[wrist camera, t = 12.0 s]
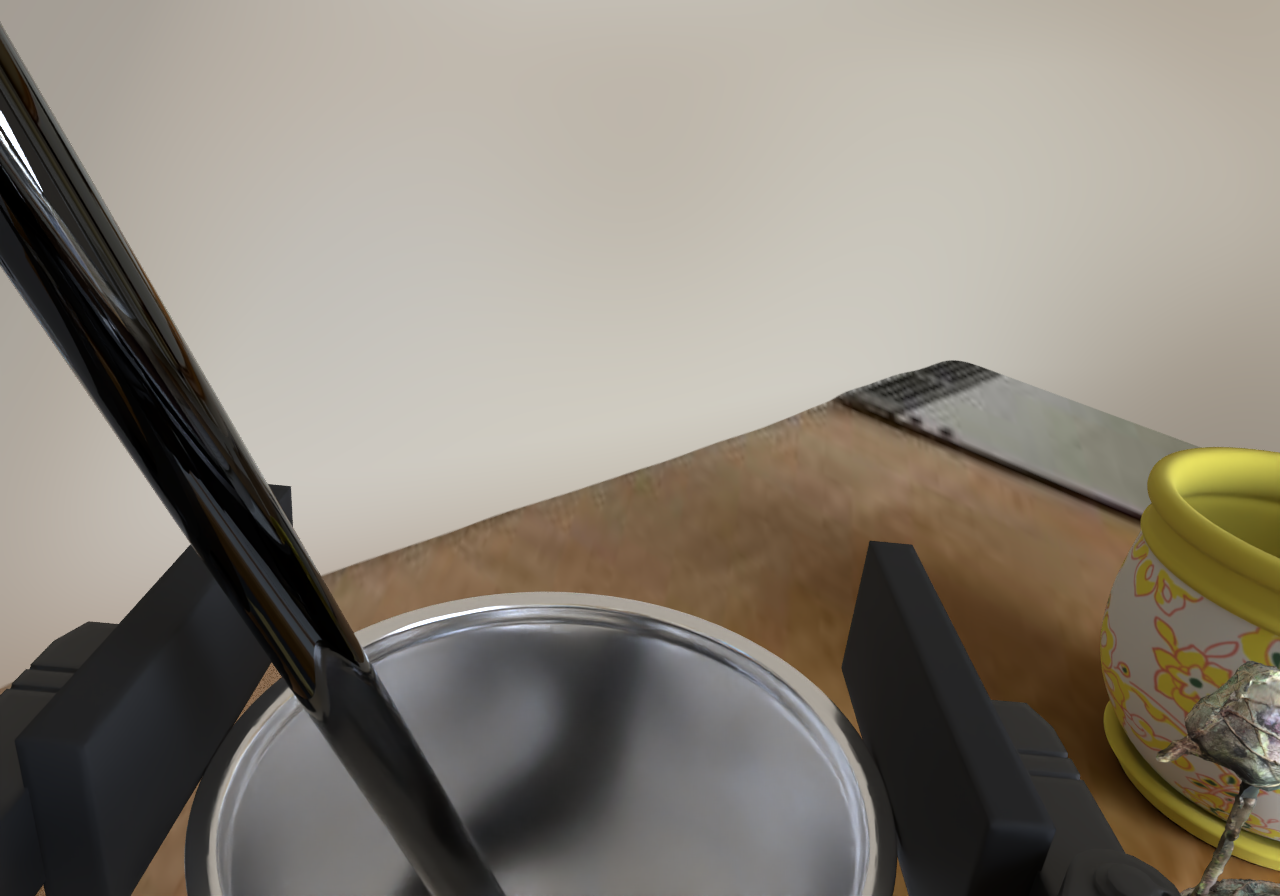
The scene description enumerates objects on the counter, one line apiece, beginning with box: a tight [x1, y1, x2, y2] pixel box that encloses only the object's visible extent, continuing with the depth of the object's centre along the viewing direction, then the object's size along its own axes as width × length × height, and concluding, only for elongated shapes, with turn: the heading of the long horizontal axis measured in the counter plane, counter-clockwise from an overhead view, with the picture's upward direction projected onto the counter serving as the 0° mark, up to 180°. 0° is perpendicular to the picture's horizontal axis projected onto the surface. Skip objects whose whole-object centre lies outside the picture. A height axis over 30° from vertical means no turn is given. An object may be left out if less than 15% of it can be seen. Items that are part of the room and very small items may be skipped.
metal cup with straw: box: [0, 23, 897, 896], centre depth 14 cm, size 11×11×30 cm
